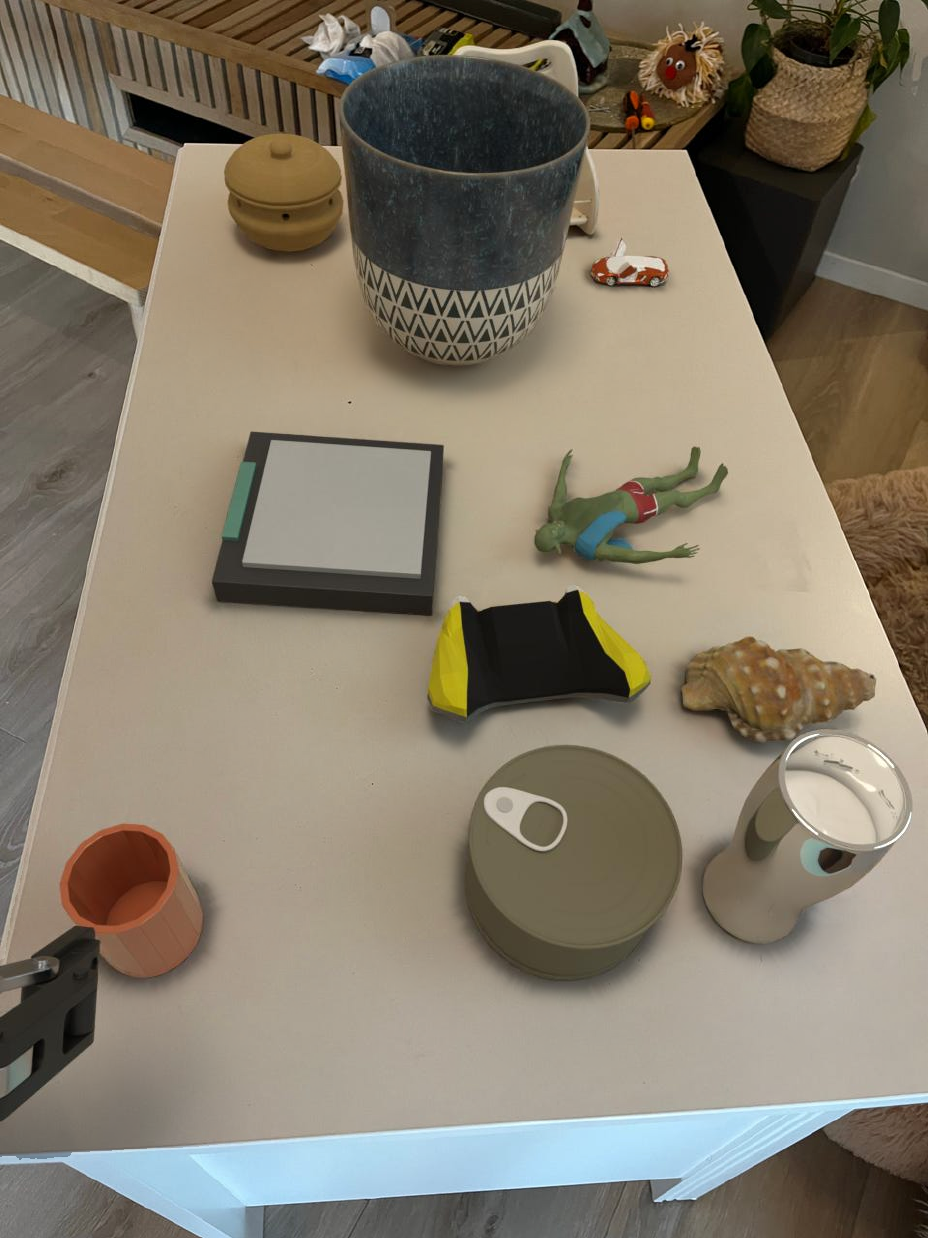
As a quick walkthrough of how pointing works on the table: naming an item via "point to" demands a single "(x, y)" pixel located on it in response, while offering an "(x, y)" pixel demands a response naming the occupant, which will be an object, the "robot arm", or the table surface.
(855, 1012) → the table surface
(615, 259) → the toy car
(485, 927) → the can
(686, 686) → the seashell
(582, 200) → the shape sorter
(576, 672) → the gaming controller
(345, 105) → the planter
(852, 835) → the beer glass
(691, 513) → the table surface
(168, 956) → the cup
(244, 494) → the scale
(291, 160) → the pot
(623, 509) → the figurine
